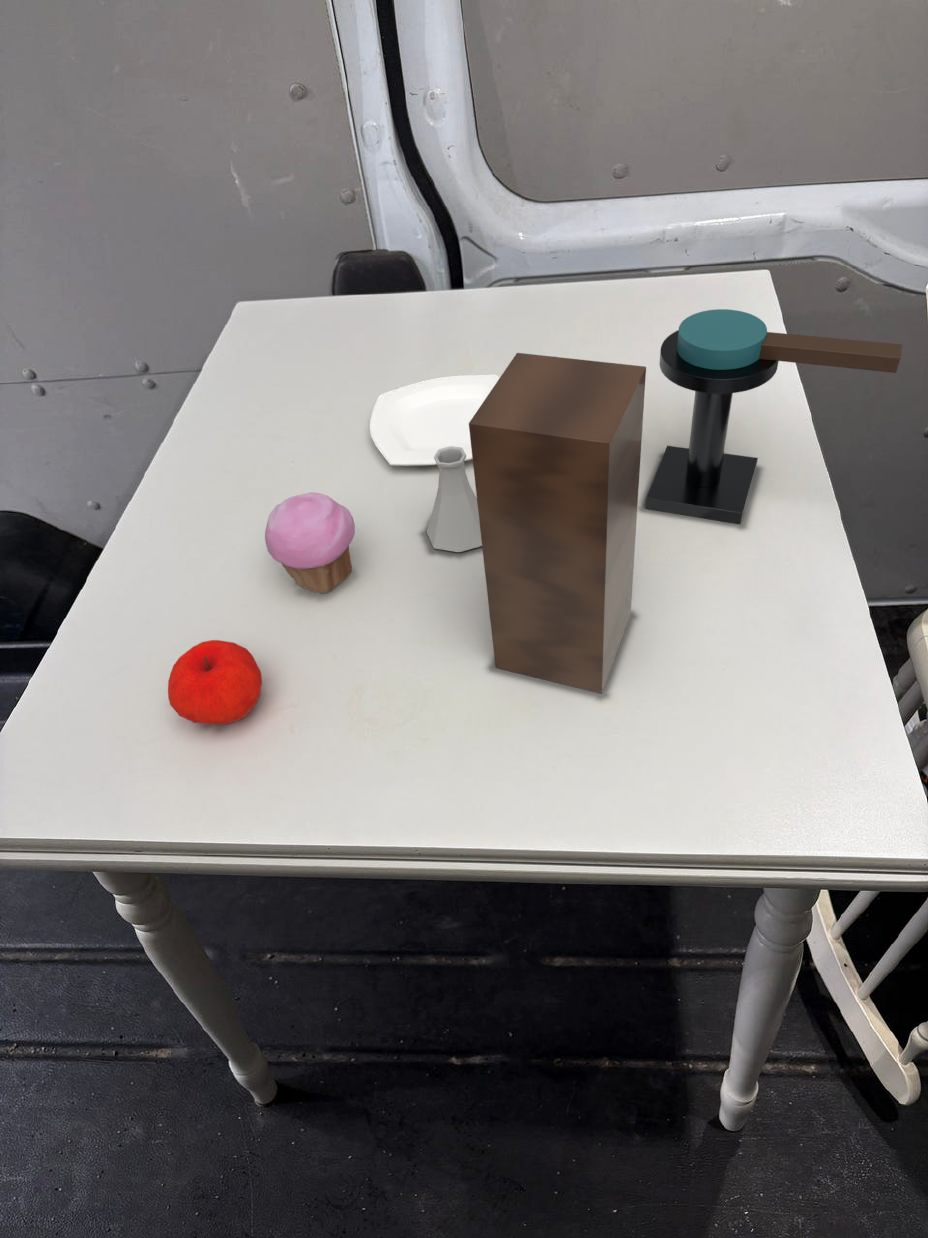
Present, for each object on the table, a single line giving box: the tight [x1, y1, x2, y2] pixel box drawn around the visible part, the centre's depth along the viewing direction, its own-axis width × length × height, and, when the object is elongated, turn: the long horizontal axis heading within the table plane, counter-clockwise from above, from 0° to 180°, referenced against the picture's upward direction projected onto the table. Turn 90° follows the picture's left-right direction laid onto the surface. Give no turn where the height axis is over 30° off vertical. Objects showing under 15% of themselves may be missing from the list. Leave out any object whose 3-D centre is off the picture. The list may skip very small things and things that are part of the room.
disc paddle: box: [677, 308, 903, 374], centre depth 77 cm, size 20×8×2 cm, turn 68°
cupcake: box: [264, 491, 356, 594], centre depth 84 cm, size 9×9×10 cm
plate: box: [369, 374, 501, 467], centre depth 104 cm, size 19×19×2 cm
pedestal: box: [469, 352, 647, 694], centre depth 69 cm, size 10×10×26 cm
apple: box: [167, 639, 263, 726], centre depth 73 cm, size 8×8×7 cm
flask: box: [426, 446, 482, 553], centre depth 87 cm, size 7×7×10 cm
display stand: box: [644, 329, 780, 525], centre depth 86 cm, size 11×11×16 cm
